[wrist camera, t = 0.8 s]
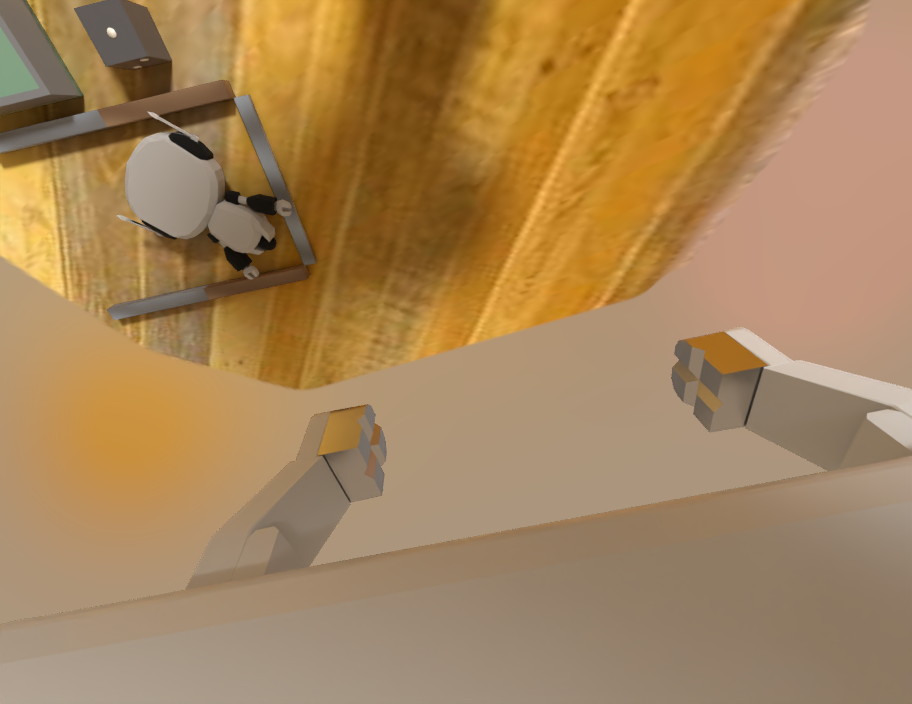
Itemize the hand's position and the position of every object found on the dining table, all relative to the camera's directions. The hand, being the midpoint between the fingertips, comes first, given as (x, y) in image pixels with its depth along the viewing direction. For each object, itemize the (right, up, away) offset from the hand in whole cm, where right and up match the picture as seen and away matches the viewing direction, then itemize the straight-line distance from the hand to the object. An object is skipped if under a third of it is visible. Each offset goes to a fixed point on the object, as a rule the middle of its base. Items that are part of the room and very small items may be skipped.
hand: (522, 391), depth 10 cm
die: (-32, +31, +26) cm, 52 cm away
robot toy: (-29, +18, +34) cm, 49 cm away
